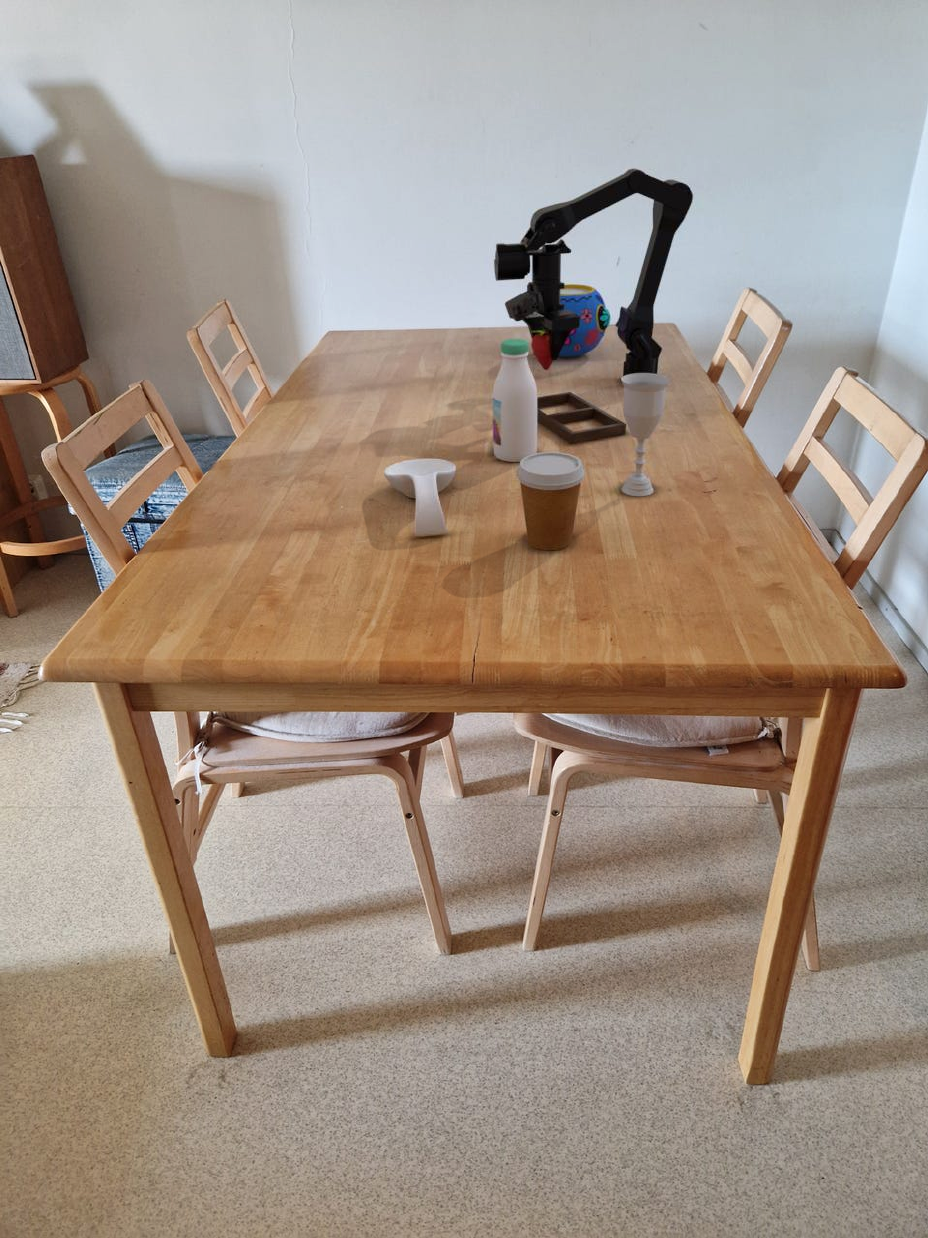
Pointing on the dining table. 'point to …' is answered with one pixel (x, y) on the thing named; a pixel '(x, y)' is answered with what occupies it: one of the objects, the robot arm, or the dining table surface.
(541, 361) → the strawberry
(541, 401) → the brown divided wooden frame
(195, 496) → the dining table surface
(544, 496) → the disposable coffee cup
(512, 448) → the milk bottle
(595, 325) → the ceramic pot
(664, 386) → the chalice
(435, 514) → the spoon rest
